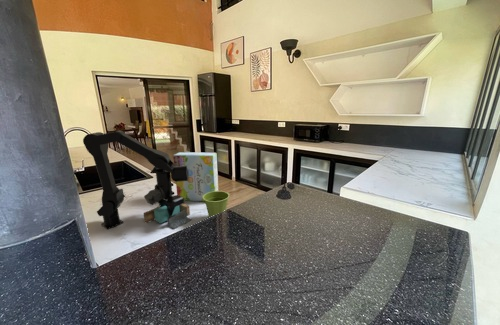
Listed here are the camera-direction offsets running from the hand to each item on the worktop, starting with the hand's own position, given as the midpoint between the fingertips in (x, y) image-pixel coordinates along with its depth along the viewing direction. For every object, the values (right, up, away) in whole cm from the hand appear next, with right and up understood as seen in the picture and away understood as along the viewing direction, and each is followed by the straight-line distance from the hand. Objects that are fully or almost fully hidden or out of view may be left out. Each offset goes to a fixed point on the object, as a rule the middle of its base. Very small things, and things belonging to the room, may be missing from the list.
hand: (167, 214), depth 95 cm
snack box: (+8, +3, +23) cm, 25 cm away
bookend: (+6, -3, -2) cm, 8 cm away
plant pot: (+22, -2, +2) cm, 22 cm away
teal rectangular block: (0, -1, 0) cm, 1 cm away
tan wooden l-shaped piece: (0, -2, +1) cm, 3 cm away
